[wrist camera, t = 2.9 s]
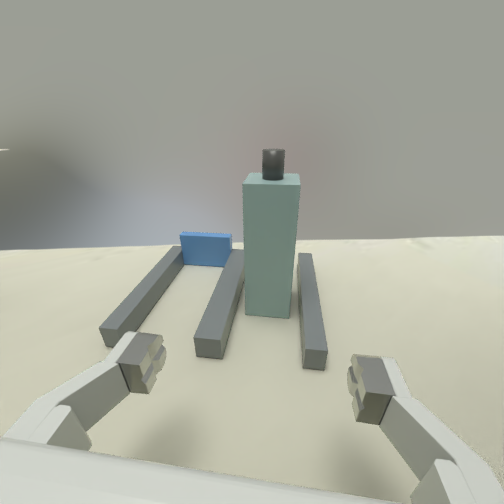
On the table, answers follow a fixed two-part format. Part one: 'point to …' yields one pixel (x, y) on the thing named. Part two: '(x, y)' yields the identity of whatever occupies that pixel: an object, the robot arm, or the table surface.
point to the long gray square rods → (217, 298)
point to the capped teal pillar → (270, 236)
